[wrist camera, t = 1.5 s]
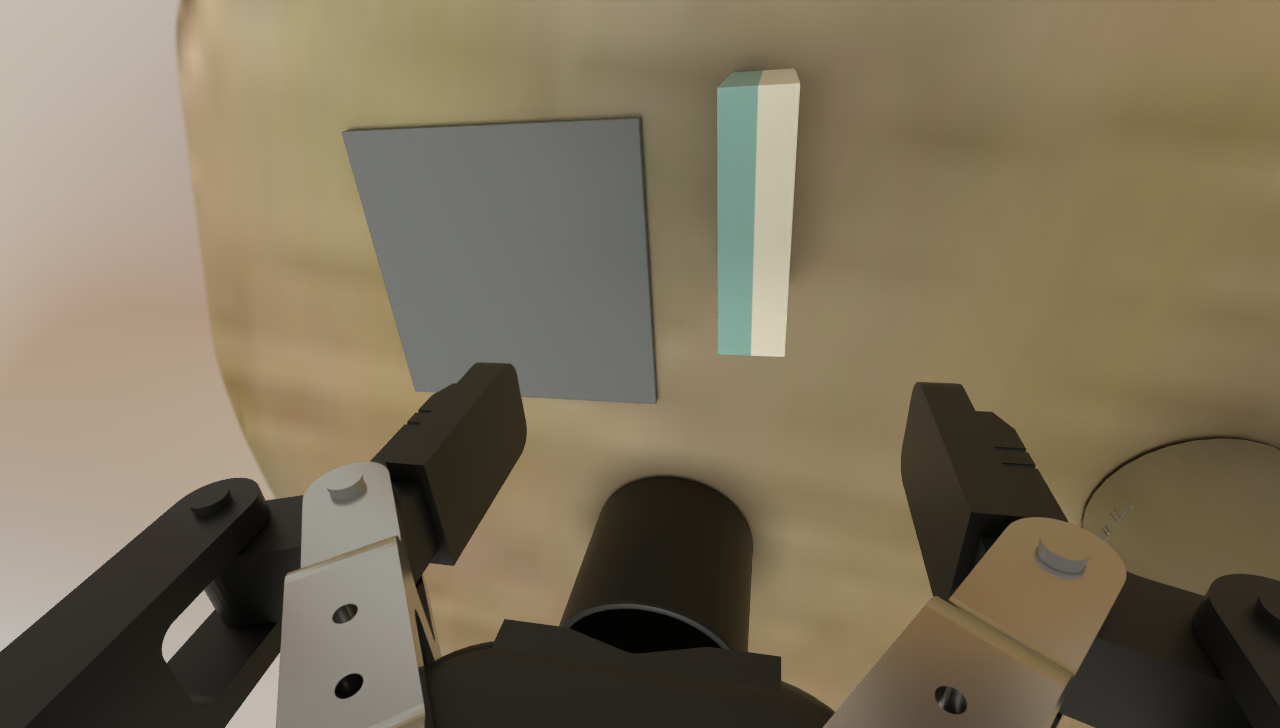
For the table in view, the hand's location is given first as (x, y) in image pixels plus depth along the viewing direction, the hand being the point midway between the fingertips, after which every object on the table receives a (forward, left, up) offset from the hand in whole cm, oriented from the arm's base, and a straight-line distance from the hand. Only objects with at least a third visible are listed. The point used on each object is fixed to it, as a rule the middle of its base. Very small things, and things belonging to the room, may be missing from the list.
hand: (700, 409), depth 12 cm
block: (-1, -1, -16) cm, 17 cm away
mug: (+3, +21, -17) cm, 27 cm away
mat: (+11, +3, -16) cm, 20 cm away
